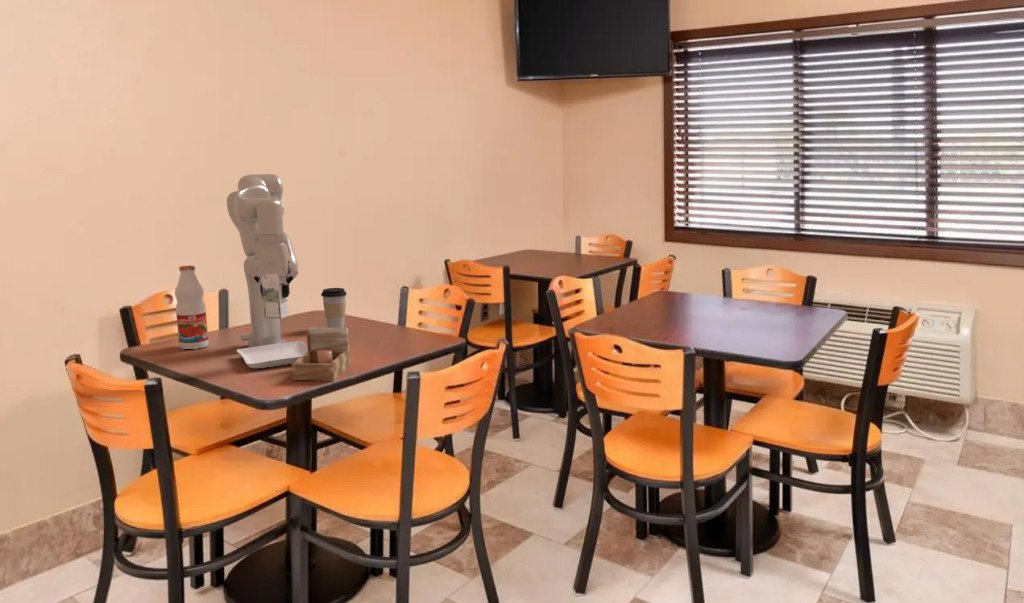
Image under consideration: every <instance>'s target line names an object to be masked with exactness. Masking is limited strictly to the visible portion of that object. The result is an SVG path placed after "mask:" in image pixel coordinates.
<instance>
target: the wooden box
mask: <svg viewBox="0 0 1024 603" xmlns="http://www.w3.org/2000/svg"><path fill="white" fill-rule="evenodd" d="M306 342H307V343H306V346H307V347H308V352H307V353H306V354H305V355H303V356H302V357H301V358H299V359H298V360H297V361H295V362H294V363H293V364H291V372H292V381H293V380H325V381H324V382H334V381H336V380H337V378H339V377H340V376H341V375H342V374H343V373H344V372H345V371H346V370H347V369H348V368H349V367H350V366H351V362H350V346H349V328H348V327H344V328H328V327H308V331H306ZM322 349H331V350H332V356H333V362H331V363H330V364H318V356H317V351H318V350H322ZM340 374H341V375H340ZM339 375H340V376H339Z"/></svg>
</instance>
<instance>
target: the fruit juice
mask: <svg viewBox="0 0 1024 603" xmlns="http://www.w3.org/2000/svg"><path fill="white" fill-rule="evenodd" d="M178 270H179V273H180V275H179V278H178V282H177V285H176V286H175V289H174V296H175V299H176V305H175V315H176V325H177V326H176V327H177V335H178V347H179V348H180V350H184V349H195V350H199V349H198V348H201V349H204V348H203V347H205V348H207V347H208V346H209V341H210V340H209V333H208V320H207V310H206V304H205V302H204V294H205V293H204V292H205V291H204V288H203V286H202V285H201V283H200V282H199V280H198V278H197V275H196V273H195V271H196V266H195V265H181V266H179V268H178ZM206 346H207V347H206Z"/></svg>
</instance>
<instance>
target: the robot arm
mask: <svg viewBox="0 0 1024 603" xmlns="http://www.w3.org/2000/svg"><path fill="white" fill-rule="evenodd" d="M283 194H284V186H283V182H282V180H281V178H280V177H279V176H278V175H277V174H274V173H264V174H263V173H262V174H261V173H260V174H259V173H258V174H246V175H244V176H241V178H239V180H238V182H237V190H235V191H231V193H229V194H228V196H227V197H226V208H227V213H228V216H229V217H230V220H231V221H232V223H233V225H234V226H235V228H236V229H237V231H238V232H239V237H240V241H241V244H242V245H241V246H242V249H243V252H244V254H245V256H246V258H245V260H244V261H243V272H244V276H245V281H246V285H247V292H248V293H247V294H248V303H249V304H248V305H249V314H250V329H251V332H250V333H242V334H240V339H241V341H248V343H247V348H251V347H257V346H264V345H271V344H279V343H287V340H285V339H284V338H282V332H281V320H280V319H281V318H265V314H264V301H263V289H262V276H266V274H276V273H278V274H279V277H281V279H282V281H283V286H282V291H283V297H284V298H286V297H287V298H289V295H290V294H291V293H290V284H291V282H292V281H294V279H295V278H297V276H298V275H299V265H298V261H297V258H296V255H295V252H294V248H293V243H292V241H291V238H290V236H289V235H288V234H287V233H286V232H284V221H283V220H284V219H283V216H284V211H285V209H284V204H283V202H282V197H283Z"/></svg>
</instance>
